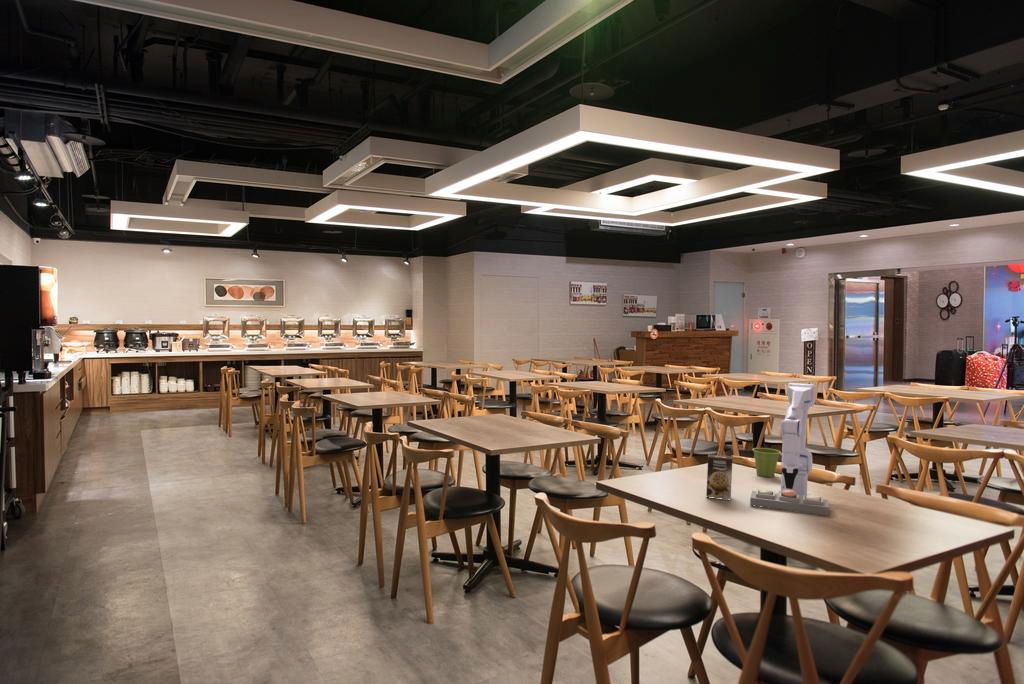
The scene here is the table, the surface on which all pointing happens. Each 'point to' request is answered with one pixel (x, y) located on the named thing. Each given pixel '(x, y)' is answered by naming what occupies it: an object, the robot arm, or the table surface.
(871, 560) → the table surface
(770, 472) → the plant pot
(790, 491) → the terracotta button
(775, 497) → the button panel
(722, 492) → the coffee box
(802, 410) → the robot arm
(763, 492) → the sage button
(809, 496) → the cream button
